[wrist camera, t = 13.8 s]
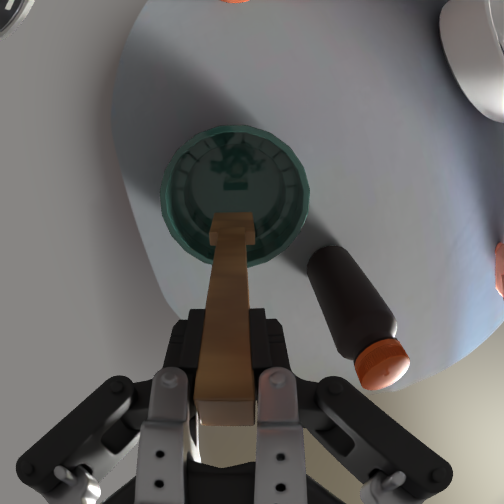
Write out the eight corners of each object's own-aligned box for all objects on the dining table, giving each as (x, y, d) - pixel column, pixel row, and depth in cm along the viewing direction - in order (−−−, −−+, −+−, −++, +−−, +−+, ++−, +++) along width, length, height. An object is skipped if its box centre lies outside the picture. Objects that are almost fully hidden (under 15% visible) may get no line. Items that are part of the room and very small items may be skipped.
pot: (378, -14, 19) (429, -50, 7) (453, -27, 14) (497, -43, 2) (478, 170, 32) (536, 195, 19) (527, 121, 26) (574, 134, 14)
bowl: (179, 247, 36) (169, 269, 30) (170, 129, 29) (155, 130, 24) (294, 245, 36) (303, 266, 31) (299, 127, 30) (312, 127, 24)
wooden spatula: (215, 228, 26) (179, 424, 8) (214, 208, 25) (168, 397, 8) (252, 227, 26) (276, 425, 9) (252, 207, 26) (280, 398, 8)
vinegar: (296, 268, 38) (336, 385, 20) (331, 234, 36) (402, 335, 18) (326, 293, 40) (373, 402, 22) (359, 262, 38) (428, 361, 20)
